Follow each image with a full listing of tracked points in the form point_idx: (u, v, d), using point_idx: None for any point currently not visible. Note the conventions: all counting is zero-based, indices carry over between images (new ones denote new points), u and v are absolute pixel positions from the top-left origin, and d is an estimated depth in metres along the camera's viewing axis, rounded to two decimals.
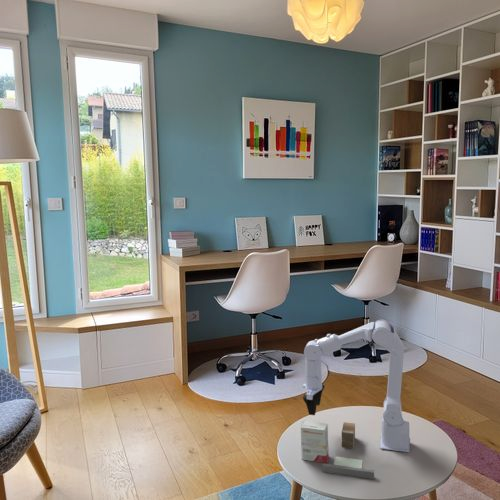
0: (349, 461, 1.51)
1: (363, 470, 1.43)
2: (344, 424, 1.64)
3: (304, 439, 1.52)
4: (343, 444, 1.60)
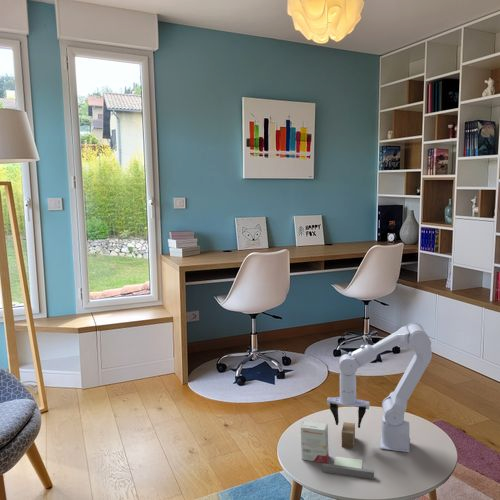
0: (349, 461, 1.51)
1: (363, 470, 1.43)
2: (344, 424, 1.64)
3: (304, 439, 1.52)
4: (343, 444, 1.60)
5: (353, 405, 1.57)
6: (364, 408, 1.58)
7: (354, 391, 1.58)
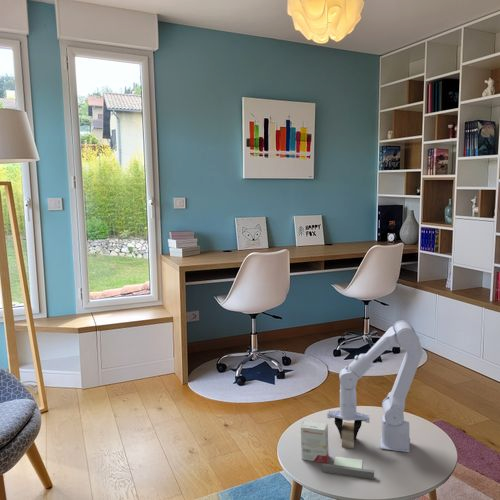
0: (349, 461, 1.51)
1: (363, 470, 1.43)
2: (344, 424, 1.64)
3: (304, 439, 1.52)
4: (343, 444, 1.60)
5: (353, 419, 1.58)
6: None
7: (354, 405, 1.58)
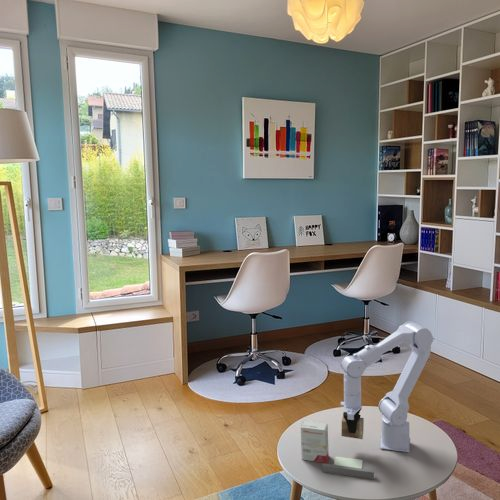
0: (349, 461, 1.51)
1: (363, 470, 1.43)
2: None
3: (304, 439, 1.52)
4: (362, 435, 1.54)
5: None
6: None
7: None
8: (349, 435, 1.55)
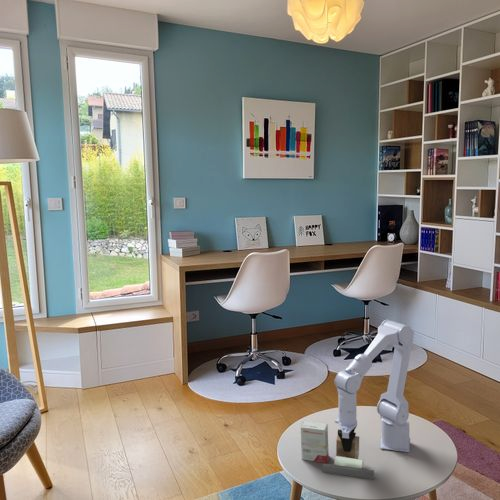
0: (349, 461, 1.51)
1: (363, 470, 1.43)
2: None
3: (304, 439, 1.52)
4: (358, 455, 1.47)
5: None
6: None
7: None
8: (344, 455, 1.48)
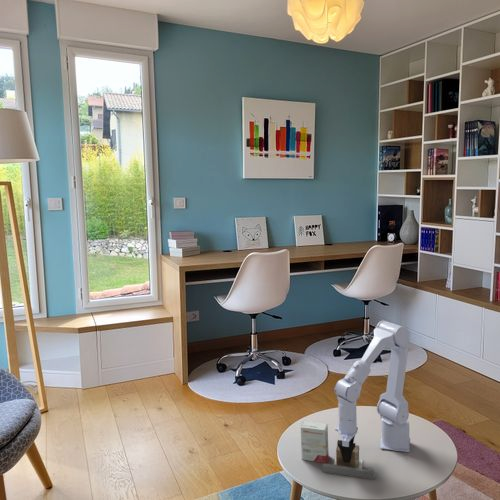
0: None
1: (363, 470, 1.43)
2: None
3: (304, 439, 1.52)
4: (358, 464, 1.47)
5: None
6: None
7: None
8: (344, 464, 1.48)
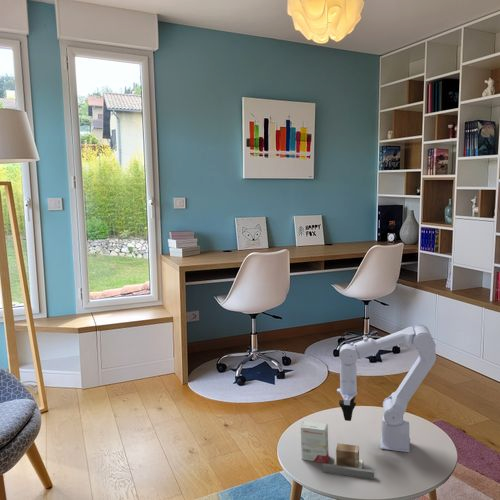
0: None
1: (363, 470, 1.43)
2: (341, 449, 1.48)
3: (304, 439, 1.52)
4: (358, 464, 1.47)
5: None
6: None
7: None
8: (344, 464, 1.48)
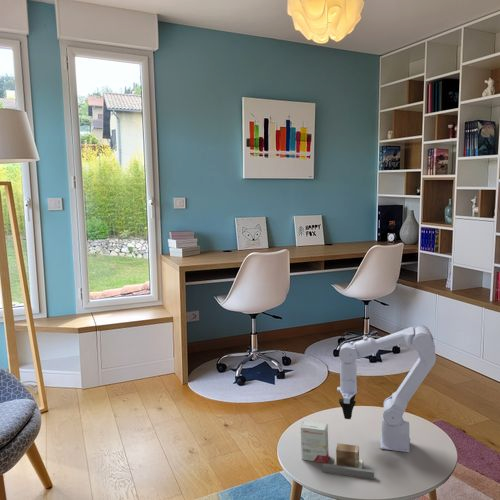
0: None
1: (363, 470, 1.43)
2: (341, 449, 1.48)
3: (304, 439, 1.52)
4: (358, 464, 1.47)
5: None
6: None
7: None
8: (344, 464, 1.48)
